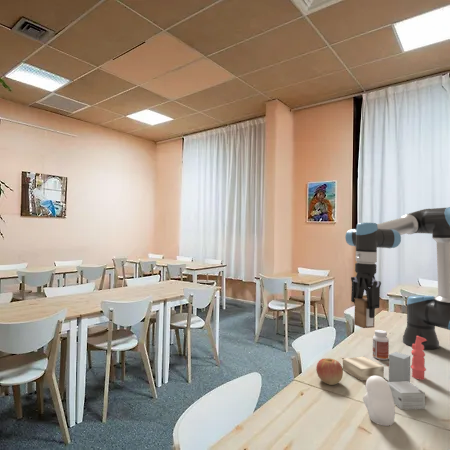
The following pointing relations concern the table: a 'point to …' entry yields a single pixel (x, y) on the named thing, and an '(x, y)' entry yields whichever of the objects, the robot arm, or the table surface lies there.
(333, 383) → the apple
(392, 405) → the figurine
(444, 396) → the table surface
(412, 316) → the robot arm
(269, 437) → the table surface
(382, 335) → the pill bottle
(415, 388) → the small box
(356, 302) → the walnut pillar
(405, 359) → the slate pillar
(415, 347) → the figurine
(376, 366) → the birch base
